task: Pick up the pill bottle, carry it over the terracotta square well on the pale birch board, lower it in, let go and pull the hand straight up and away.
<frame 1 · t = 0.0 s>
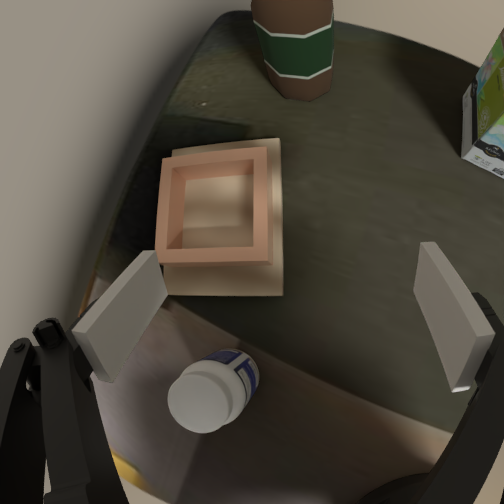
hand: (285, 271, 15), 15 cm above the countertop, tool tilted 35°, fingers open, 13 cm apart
well: (215, 209, 29), on the board, point 3 cm above the countertop
board: (223, 217, 32), on the countertop
pill bottle: (232, 374, 30), on the countertop
beer bottle: (302, 80, 33), on the countertop
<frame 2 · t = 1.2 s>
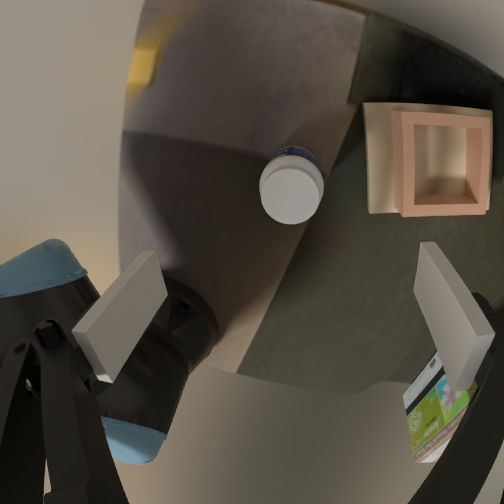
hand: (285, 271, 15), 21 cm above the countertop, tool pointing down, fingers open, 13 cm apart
well: (443, 162, 27), on the board, point 3 cm above the countertop
tea box: (443, 369, 43), on the countertop
board: (432, 157, 29), on the countertop
pill bottle: (293, 170, 33), on the countertop
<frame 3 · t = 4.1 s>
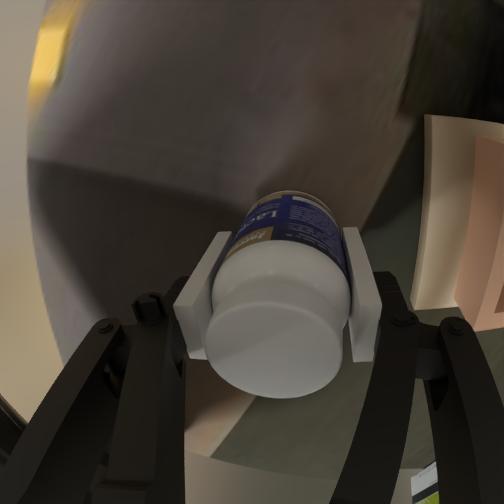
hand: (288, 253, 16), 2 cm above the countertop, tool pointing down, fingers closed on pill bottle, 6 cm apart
tea box: (462, 453, 29), on the countertop
pill bottle: (290, 233, 19), on the countertop, touching gripper
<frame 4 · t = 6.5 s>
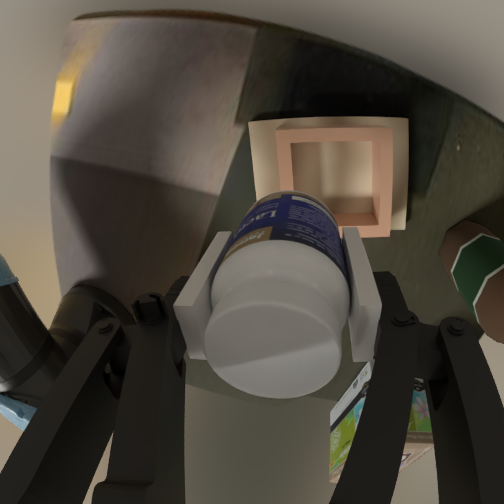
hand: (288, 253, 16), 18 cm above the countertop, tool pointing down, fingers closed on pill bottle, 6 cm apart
well: (335, 180, 29), on the board, point 3 cm above the countertop
tea box: (372, 390, 46), on the countertop
board: (332, 173, 31), on the countertop
pill bottle: (290, 233, 19), point 15 cm above the countertop, touching gripper
beer bottle: (462, 246, 32), on the countertop
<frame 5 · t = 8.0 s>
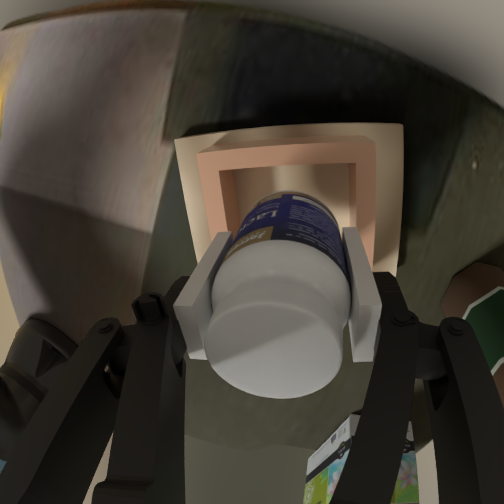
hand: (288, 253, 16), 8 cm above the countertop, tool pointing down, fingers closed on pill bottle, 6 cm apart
well: (292, 219, 21), on the board, point 3 cm above the countertop
tea box: (355, 440, 38), on the countertop
board: (294, 205, 23), on the countertop
pill bottle: (290, 233, 19), point 5 cm above the countertop, touching gripper
beer bottle: (471, 293, 24), on the countertop
when the fingers open (6 cm above the countertop, at t = 9.1 s): pill bottle drops 2 cm, resting on board.
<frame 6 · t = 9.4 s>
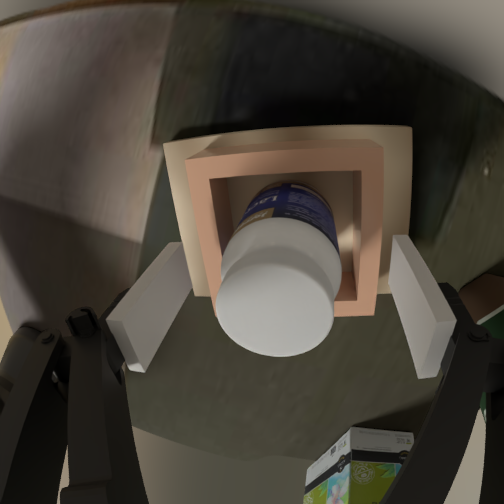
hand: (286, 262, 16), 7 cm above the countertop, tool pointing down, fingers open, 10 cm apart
well: (291, 231, 19), on the board, point 3 cm above the countertop
tea box: (356, 451, 36), on the countertop
board: (293, 214, 22), on the countertop
pill bottle: (289, 219, 21), point 1 cm above the countertop, touching board
beer bottle: (479, 305, 22), on the countertop
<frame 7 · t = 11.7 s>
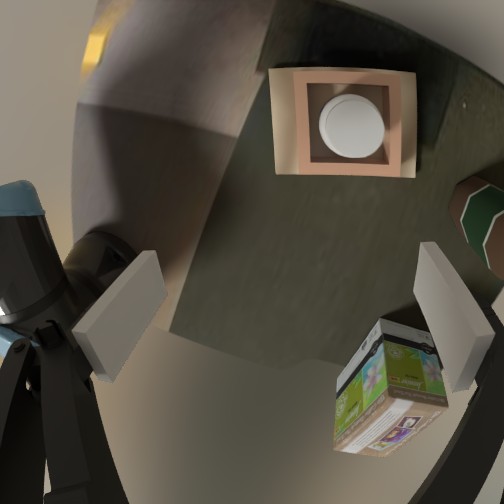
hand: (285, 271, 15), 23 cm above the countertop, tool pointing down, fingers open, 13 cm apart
well: (348, 122, 29), on the board, point 3 cm above the countertop
tea box: (381, 356, 46), on the countertop
board: (345, 120, 31), on the countertop
pill bottle: (344, 120, 30), point 1 cm above the countertop, touching board
beer bottle: (471, 203, 32), on the countertop
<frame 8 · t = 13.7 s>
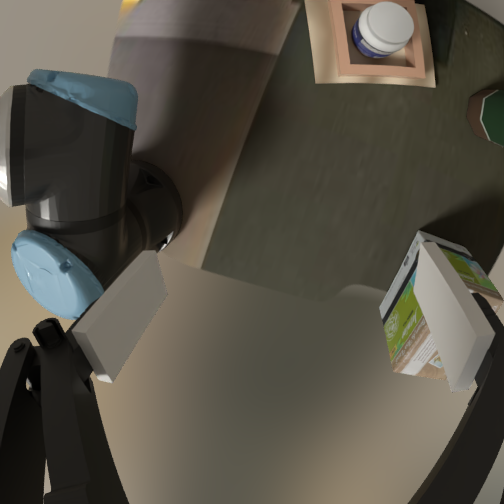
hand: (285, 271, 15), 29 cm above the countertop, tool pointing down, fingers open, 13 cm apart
well: (376, 36, 28), on the board, point 3 cm above the countertop
tea box: (421, 277, 45), on the countertop
board: (371, 40, 31), on the countertop
pill bottle: (372, 39, 30), point 1 cm above the countertop, touching board
beer bottle: (484, 115, 32), on the countertop
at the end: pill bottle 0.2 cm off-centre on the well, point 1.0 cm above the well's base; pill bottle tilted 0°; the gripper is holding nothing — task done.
